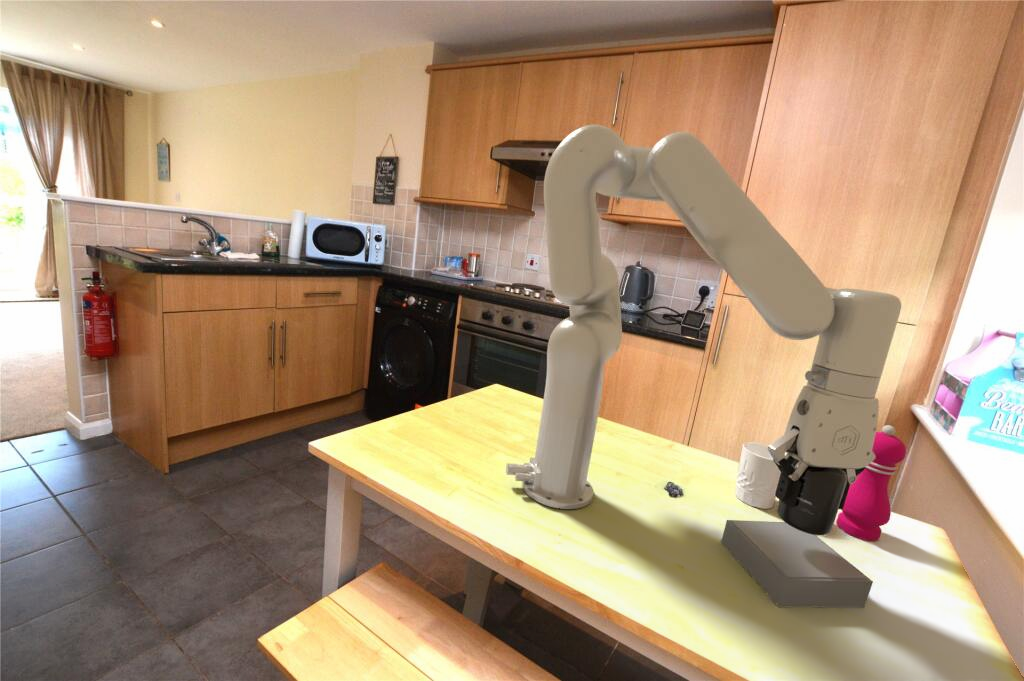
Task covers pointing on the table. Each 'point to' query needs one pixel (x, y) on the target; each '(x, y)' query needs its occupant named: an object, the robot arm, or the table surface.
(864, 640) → the table surface
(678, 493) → the blueberries
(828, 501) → the supplement bottle
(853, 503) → the pepper mill
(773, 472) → the white cup
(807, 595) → the slate riser
